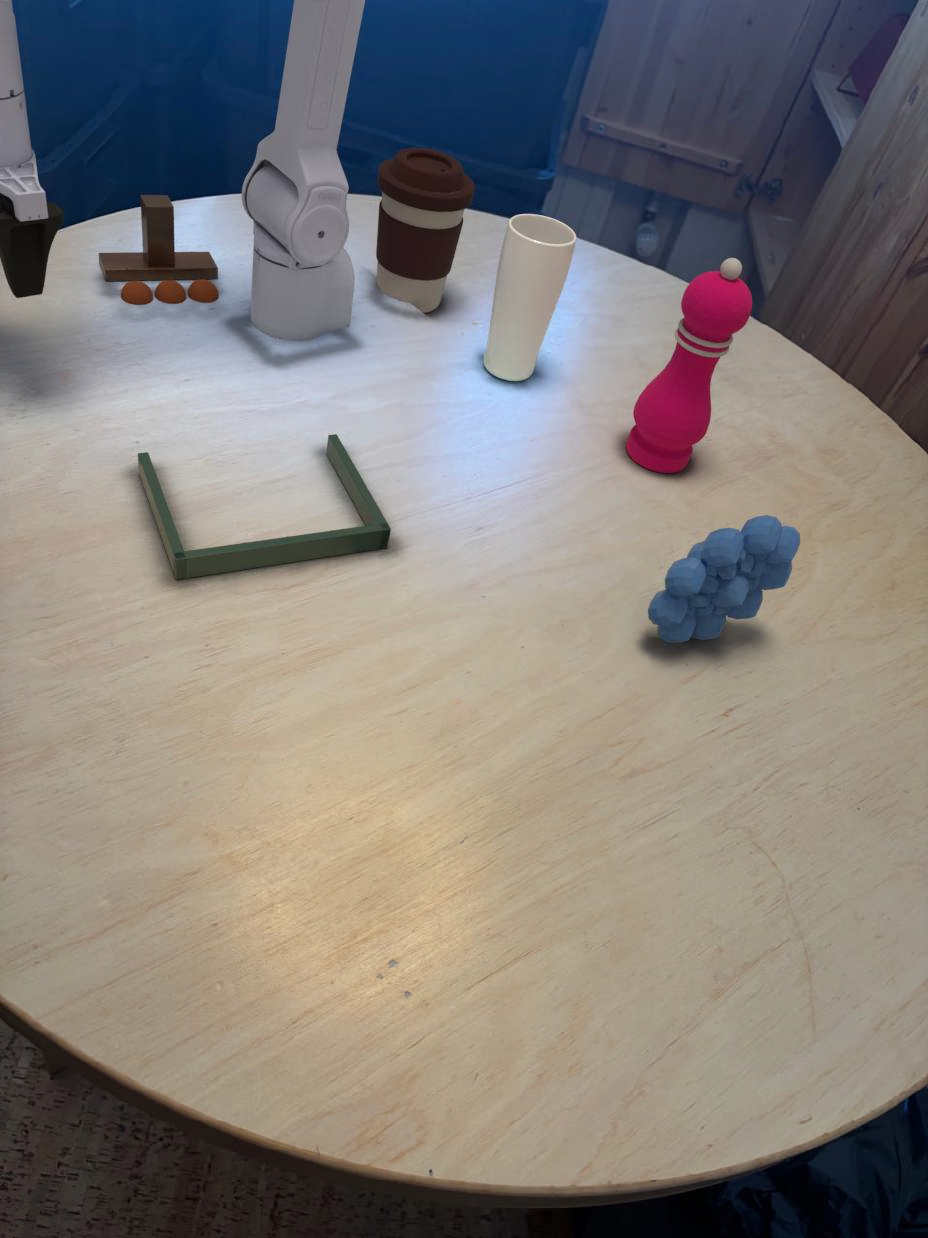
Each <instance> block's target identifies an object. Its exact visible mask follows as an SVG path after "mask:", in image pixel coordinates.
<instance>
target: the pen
mask: <svg viewBox="0 0 928 1238" xmlns="http://www.w3.org/2000/svg"><path fill="white" fill-rule="evenodd" d="M325 453H326V456H327V458H328V459H329V461H330V463H331V465H332V467H333V468H334V470H335V472H336V474H337V476H338V478H339V480H340V481H341V483H342V485H343V487H344V488H345V490H346V492H347V494H348V496H349V498H350V499H351V501H352V503H353V505H354V507H355V509H356V510H357V512H358V514H359V516H360V518H361V519H362V521H363V523H364V525H362V526H354V527H348V528H341V529H334V530H333V529H332V530H325V531H320V532H319V531H318V532H311V533H305V534H297V535H290V536H284V537H283V536H282V537H276V538H270V539H269V538H268V539H261V540H255V541H247V542H240V543H233V544H226V545H219V546H213V547H212V546H211V547H204V548H198V549H197V548H196V549H190V550H185V549H184V547H183V544H182V541H181V539H180V536H179V533H178V530H177V528H176V525H175V523H174V520H173V517H172V514H171V511H170V508H169V506H168V503H167V501H166V498H165V494H164V492H163V489H162V487H161V484H160V480H159V478H158V476H157V473H156V470H155V467H154V465H153V462H152V459H151V456H150V454H149V452H148V451H147V452H138V453H137V464H138V475H139V477H140V481H141V483H142V487H143V489H144V492H145V494H146V495H145V496H146V498H147V500H148V504H149V506H150V509H151V512H152V514H153V518H154V521H155V523H156V526H157V529H158V533H159V535H160V537H161V541H162V544H163V547H164V549H165V550H164V551H165V552H166V555H167V559H168V561H169V564H170V567H171V570H172V572H173V575H174V578H175V580H176V581H177V580H184V579H190V578H191V579H192V578H198V577H202V576H209V575H210V576H211V575H217V574H222V573H230V572H236V571H242V570H249V569H256V568H262V567H269V566H276V565H282V564H283V565H284V564H289V563H295V562H301V561H308V560H315V559H320V558H321V559H322V558H326V557H327V558H328V557H335V556H341V555H348V554H354V553H361V552H367V551H374V550H375V551H376V550H380V549H387V548H388V547H389V541H390V536H391V531H392V528H391V526H390V525H389V523H388V521H387V520H386V517H385V516H384V514H383V512H382V511H381V509H380V507H379V506H378V504H377V502H376V500H375V498H374V497H373V495H372V493H371V492H370V490H369V488H368V486H367V484H366V482H365V481H364V479H363V478H362V476H361V474H360V473H359V471H358V469H357V467H356V465H355V464H354V462H353V460H352V458H351V456H350V455H349V453H348V451H347V450H346V448H345V446H344V444H343V443H342V441H341V439H340V438H339V435H337V433H335V434H328V436H327V444H326V452H325Z"/></svg>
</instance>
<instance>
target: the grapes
mask: <svg viewBox="0 0 928 1238" xmlns="http://www.w3.org/2000/svg"><path fill="white" fill-rule="evenodd" d="M800 544H801V533H800V531H798V529H797V528H796V527H793V526H789V525H783V523H782V522H781V521H780V520H779V518H778V517H777V516H773V515H768V514H766V515H757V516H755V517H751V518H749V519H747V520H746V522H745V523H744V524H743V526H742V528H741V530H740V529H737V528H733V527H725V528H717V529H716V530H713V531H711V532H709V533H708V534H707V536H706V538H705V539H704V541H700V542H697V543H695V544H693V545H692V547H690V549H689V551H688V552H687V555H686V557H685V558H681V559H680V558H679V559H678V560H675V561H673V562H672V563H671V565H670V567H669V568H668V570H667V572H666V575H665V577H664V587H665V588H664V589H663V590H660V591H657V592H656V593H655V594H654V596H653V597H652V599H651V600H650V602H649V606H648V608H647V617H648V619H649V621H650V622H651V623H652V624H653V625H656V629H657V630H656V631H657V636H658V637H659V638H660V639H661V640H662V641H663V642H667V643H671V644H675V643H685V642H688V641H689V640H690V639H691V638H692V639H696V640H700V641H702V640H704V641H705V640H713V639H717V638H719V637H720V635H721V633H722V631H723V630H724V627H725V625H726V621H727V618H730V619H733V620H746V619H752V618H755V617H756V616H757V614H758V612H759V611H760V609H761V607H762V603H763V601H764V591H769V590H770V591H771V590H778V589H781V588H785V586H786V585H787V583H788V581H789V579H790V577H791V573H792V571H793V560H794V558H795V557H796V555H797V553H798V551H799V547H800Z"/></svg>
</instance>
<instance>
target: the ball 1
mask: <svg viewBox="0 0 928 1238" xmlns="http://www.w3.org/2000/svg"><path fill="white" fill-rule="evenodd" d="M120 299H121V300H122V301H123V302H125V303H127V304H129V305H134V306H146V305H148V304H150V303H152V302H153V301H154V293H153V291H152V290H151V288H150V286H149V285H147V284H146V283H145V282H144V281H142V280H133V281H128V282H126V283H125V284H123V286H122V288H121V291H120Z"/></svg>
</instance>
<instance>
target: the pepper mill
mask: <svg viewBox="0 0 928 1238" xmlns="http://www.w3.org/2000/svg"><path fill="white" fill-rule="evenodd" d="M742 271H743V265H742V263H741V261H740V260H739V259H738V258H735V257H728V258H727V259H725V260H724V261H723V262H722V263H721V265H720V269H719V270H711V271H707V272H706V271H705V272H703V273H701V274H699V275H697V276H696V277H694V278H693V279H692V280H691V281H690V283H689V284H688V285H687V286H686V288H685V289H684V292H683V294H682V297H681V301H680V308H681V312H682V315H683V317H682V318H681V319H680V320H679V321H678V324H677V328H676V329H675V332H674V339H675V340H676V344H675V349H674V350H673V353H672V355H671V357H670V359H669V361H668V363H667V364H666V365H665V367H664V368H663V369H662V370H661V371H660V373H658V374H657V375H656V376H655V378H653V379H652V380H651V381H650V382H649V383H648V384H647V385H646V386H645V388H644V389H643V390H642V391H641V393H640V394H639V396H638V398H637V400H636V402H635V404H634V406H633V412H632V415H633V419H634V423H635V424H634V425H633V426H632V428H631V429H630V432H629V435H628V437H627V439H626V443H625V448H626V452H627V454H628V456H629V457H630V458H631V459H632V460H633V461H634V462H635V463H636V464H638V465H640V466H641V467H643V468H645V469H648V470H650V471H653V472H656V473H660V474H661V473H662V474H675V473H678V472H681V471H682V470H684V469H685V468H686V467H687V465H688V463H689V460H690V458H691V456H692V454H693V451H694V449H693V446H694V445H695V444H698V443H699V442H700V441H702V439H704V437H705V436H706V434H707V433H708V430H709V426H710V422H711V418H712V399H711V383H712V377H713V374H714V371H715V369H716V366H717V364H718V362H719V360H720V359H721V357H724V356H725V355H727V354H728V353H729V351H730V346H731V345H732V344H733V341H734V336H733V335H734V334H736V333H737V332H739V331H740V330H742V329H743V328H744V327H745V326H746V325H747V324H748V321H749V319H750V316H751V314H752V310H753V296H752V293H751V290H750V288H749V287H748V285H747V284H746V282H744V280H742V279H740V278H739V277H740V275H741V273H742Z"/></svg>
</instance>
